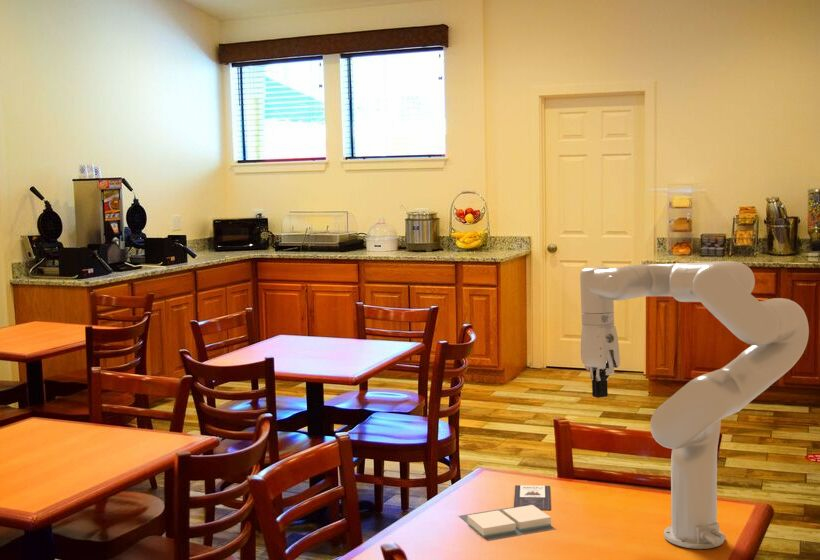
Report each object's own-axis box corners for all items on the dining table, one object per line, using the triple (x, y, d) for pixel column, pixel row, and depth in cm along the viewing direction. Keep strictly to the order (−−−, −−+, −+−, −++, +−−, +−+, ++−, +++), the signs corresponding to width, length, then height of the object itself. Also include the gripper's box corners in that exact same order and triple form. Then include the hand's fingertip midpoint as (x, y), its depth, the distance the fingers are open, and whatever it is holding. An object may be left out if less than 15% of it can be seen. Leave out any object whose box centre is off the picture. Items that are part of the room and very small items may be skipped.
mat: (556, 530, 201) (556, 528, 201) (488, 542, 195) (488, 540, 195) (522, 507, 217) (522, 505, 217) (458, 517, 211) (458, 515, 211)
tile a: (532, 512, 212) (551, 525, 203) (502, 517, 209) (519, 530, 200) (532, 504, 211) (550, 517, 203) (502, 509, 209) (519, 522, 200)
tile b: (498, 518, 209) (515, 531, 200) (467, 523, 206) (483, 537, 197) (498, 510, 208) (515, 523, 200) (467, 515, 206) (483, 528, 197)
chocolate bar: (513, 509, 214) (515, 485, 232) (513, 513, 214) (515, 488, 232) (551, 509, 213) (549, 485, 231) (551, 513, 213) (550, 489, 231)
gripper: (630, 321, 202) (632, 400, 203) (593, 315, 216) (595, 389, 217) (602, 324, 199) (604, 404, 200) (567, 317, 213) (569, 393, 214)
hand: (600, 396), depth 209 cm, fingers closed
